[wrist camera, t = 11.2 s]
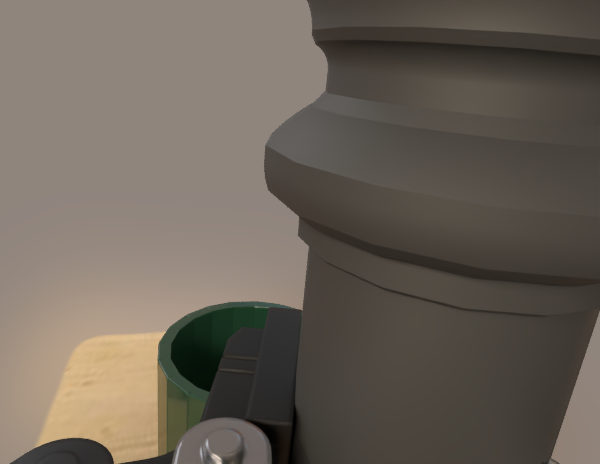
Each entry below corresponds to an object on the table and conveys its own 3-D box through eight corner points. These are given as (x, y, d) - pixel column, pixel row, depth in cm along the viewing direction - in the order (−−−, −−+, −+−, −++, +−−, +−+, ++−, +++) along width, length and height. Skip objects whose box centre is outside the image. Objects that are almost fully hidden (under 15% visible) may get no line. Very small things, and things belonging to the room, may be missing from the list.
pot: (348, 452, 33) (368, 328, 30) (287, 597, 24) (307, 439, 20) (218, 403, 37) (223, 287, 33) (120, 512, 27) (113, 366, 24)
